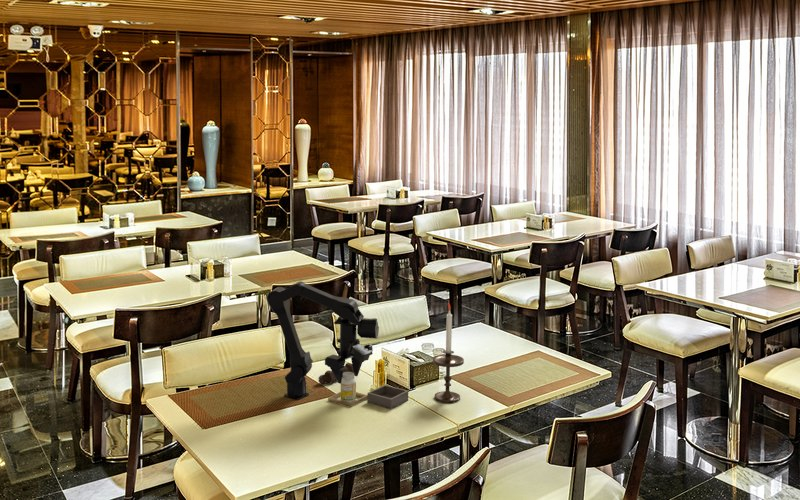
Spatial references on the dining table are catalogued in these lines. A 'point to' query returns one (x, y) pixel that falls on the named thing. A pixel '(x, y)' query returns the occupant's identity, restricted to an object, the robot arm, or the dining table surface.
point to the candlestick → (448, 364)
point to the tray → (387, 396)
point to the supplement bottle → (348, 387)
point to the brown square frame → (333, 399)
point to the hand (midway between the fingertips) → (347, 379)
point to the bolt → (330, 376)
